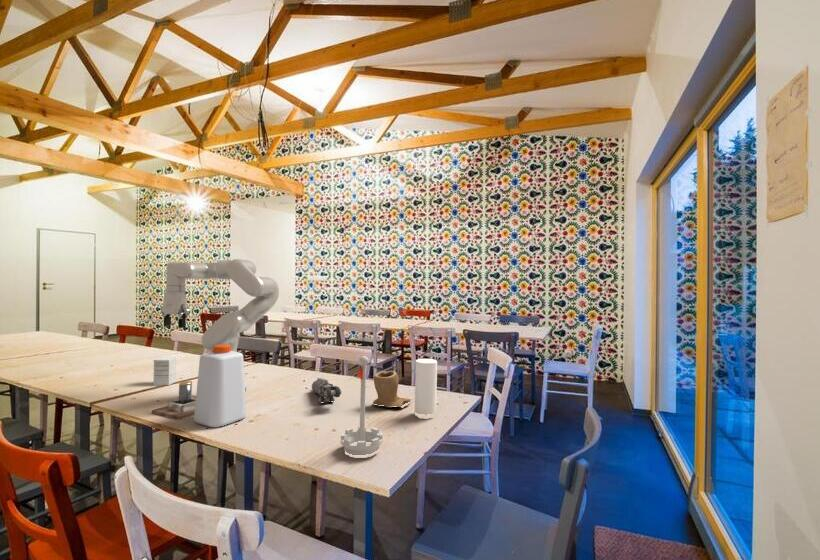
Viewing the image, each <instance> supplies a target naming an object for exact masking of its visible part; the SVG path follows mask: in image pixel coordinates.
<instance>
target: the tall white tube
mask: <svg viewBox="0 0 820 560" xmlns="http://www.w3.org/2000/svg"><path fill="white" fill-rule="evenodd" d="M429 330H433V328H431V325H430V326H429ZM431 332H432V333H433V336H435V335H436V333H435V331H431ZM432 350H433V348H429V349H427V350H426V351H425V352H423V353H421V354H420V357H424V356H426V354H428V353H429V352H431V351H432ZM414 374H415V376H414V377H415V378H414V379H415V381H414V382H415V383H414V384H415V385H414V386H415V387H414V413H415V412H416V413H418V414H425V415H427V414H433V413H435V412H436V413H437V389H438V388H437V385H438V361H437V360H436V359H434V358H433V359H432V358H418V359H416V360H415V373H414Z"/></svg>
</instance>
